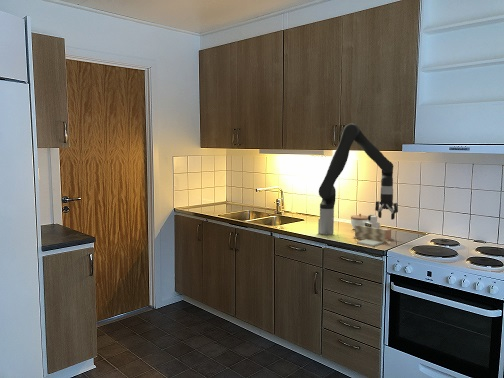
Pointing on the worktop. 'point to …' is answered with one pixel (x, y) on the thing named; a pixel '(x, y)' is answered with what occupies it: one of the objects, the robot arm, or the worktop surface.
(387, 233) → the terracotta block
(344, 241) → the worktop surface
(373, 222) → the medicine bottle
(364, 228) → the birch screen
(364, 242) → the pale green pad
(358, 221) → the lidded bowl
